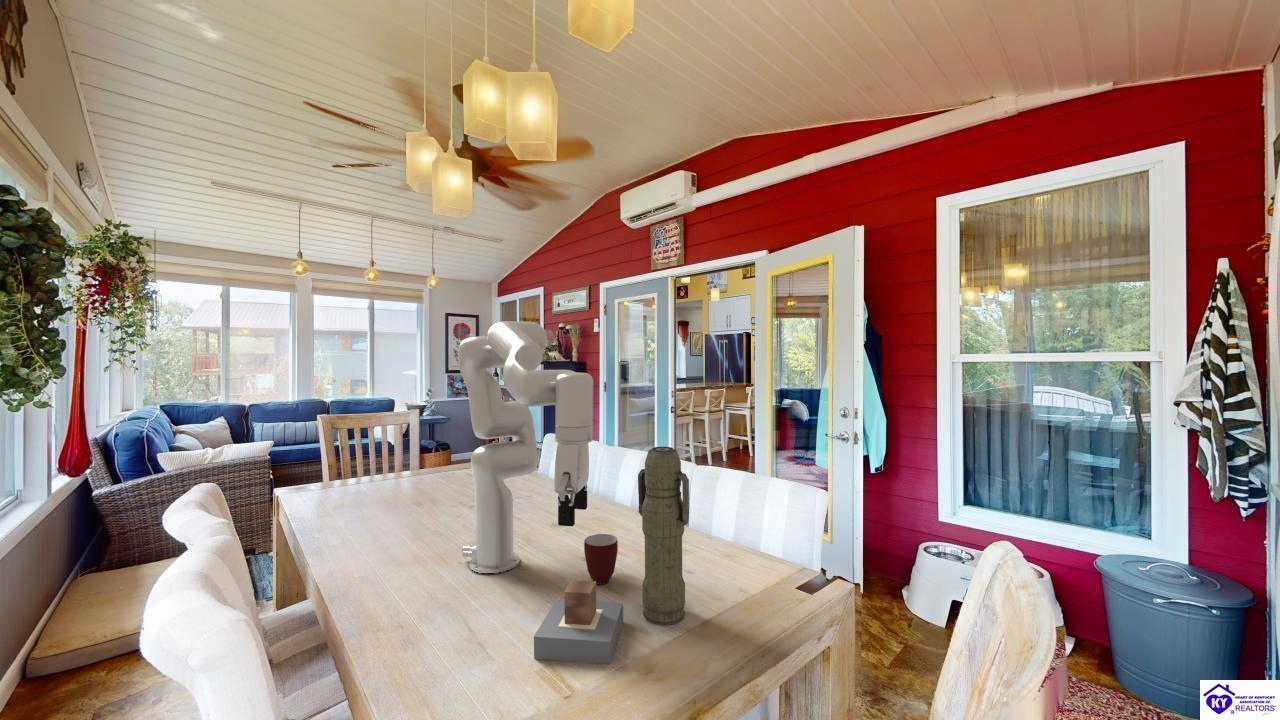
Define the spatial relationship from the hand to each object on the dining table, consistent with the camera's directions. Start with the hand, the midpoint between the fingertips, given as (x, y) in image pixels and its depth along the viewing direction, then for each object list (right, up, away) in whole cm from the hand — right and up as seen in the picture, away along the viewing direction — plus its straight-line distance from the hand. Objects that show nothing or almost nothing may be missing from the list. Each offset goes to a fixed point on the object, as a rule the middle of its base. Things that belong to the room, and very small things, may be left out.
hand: (573, 516), depth 102 cm
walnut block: (+2, -18, -6) cm, 19 cm away
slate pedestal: (+2, -22, -6) cm, 23 cm away
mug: (+5, -22, +20) cm, 30 cm away
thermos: (+19, -22, +3) cm, 29 cm away
